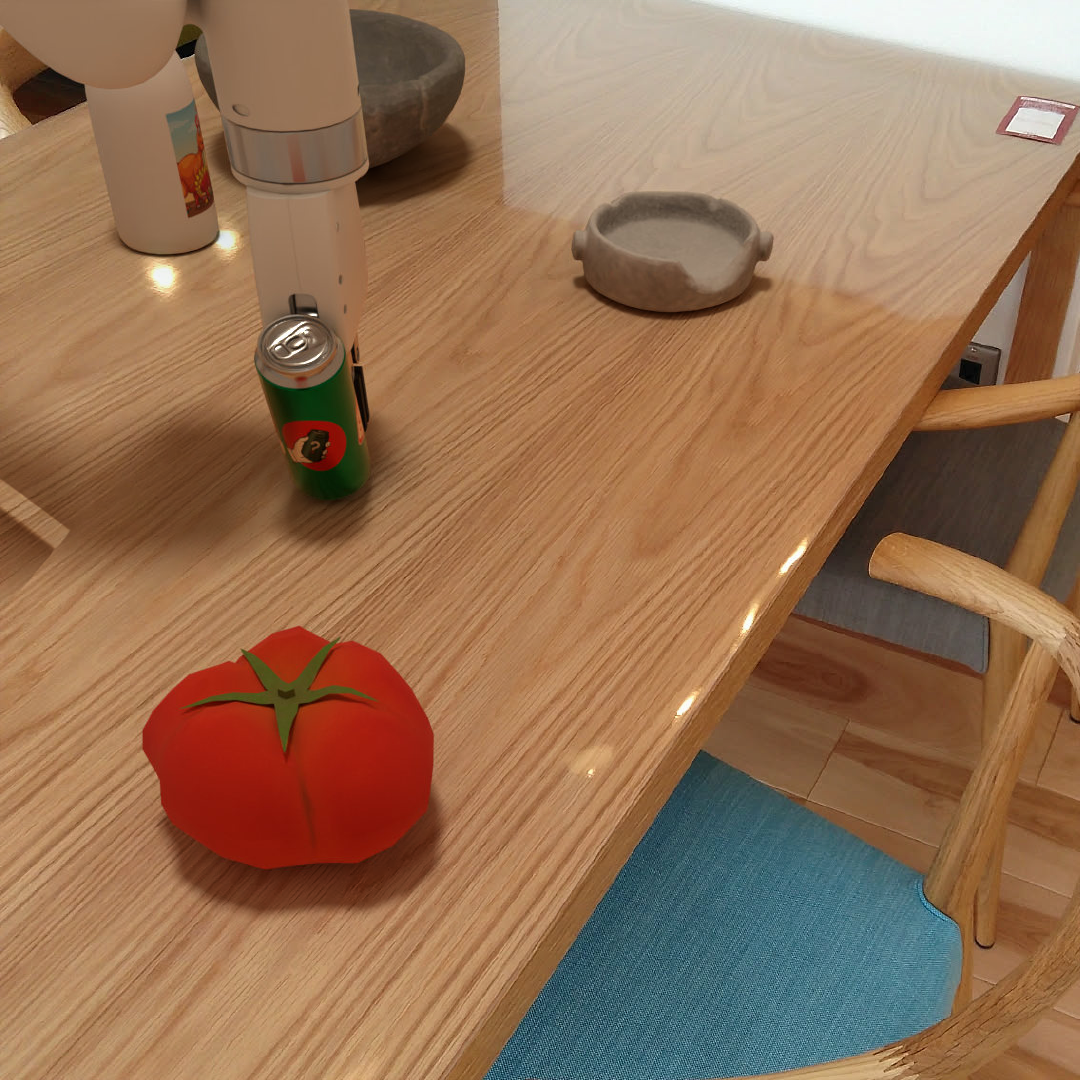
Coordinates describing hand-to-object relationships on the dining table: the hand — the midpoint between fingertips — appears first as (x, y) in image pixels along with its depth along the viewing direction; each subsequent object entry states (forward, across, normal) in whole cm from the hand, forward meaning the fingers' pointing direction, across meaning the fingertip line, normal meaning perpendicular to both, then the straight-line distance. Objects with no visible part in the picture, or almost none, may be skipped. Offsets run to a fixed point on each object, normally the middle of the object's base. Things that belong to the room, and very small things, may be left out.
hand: (343, 426), depth 89 cm
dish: (+3, -27, +22) cm, 35 cm away
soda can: (+2, +3, 0) cm, 4 cm away
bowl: (+2, -49, -7) cm, 49 cm away
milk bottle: (+2, -31, -18) cm, 36 cm away
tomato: (+2, +31, +3) cm, 32 cm away
